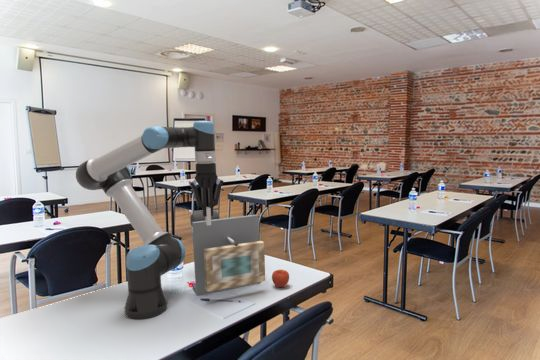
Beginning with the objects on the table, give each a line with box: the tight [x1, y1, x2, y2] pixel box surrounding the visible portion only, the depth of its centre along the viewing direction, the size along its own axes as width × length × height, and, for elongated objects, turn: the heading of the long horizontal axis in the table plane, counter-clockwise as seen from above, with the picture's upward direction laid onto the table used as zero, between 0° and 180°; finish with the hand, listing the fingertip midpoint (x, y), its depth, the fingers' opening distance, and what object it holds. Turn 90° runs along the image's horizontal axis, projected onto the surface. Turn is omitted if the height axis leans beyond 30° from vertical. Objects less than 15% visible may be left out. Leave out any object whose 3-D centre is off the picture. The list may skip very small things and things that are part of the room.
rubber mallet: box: [189, 210, 220, 227], centre depth 171 cm, size 12×8×30 cm, turn 120°
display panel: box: [191, 214, 261, 296], centre depth 153 cm, size 28×15×30 cm, turn 114°
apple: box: [271, 269, 290, 288], centre depth 155 cm, size 7×7×8 cm
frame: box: [204, 240, 266, 292], centre depth 144 cm, size 24×4×18 cm, turn 114°
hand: (208, 224), depth 139 cm, fingers closed
